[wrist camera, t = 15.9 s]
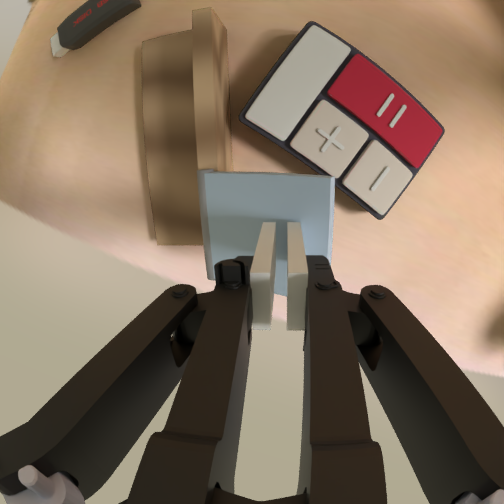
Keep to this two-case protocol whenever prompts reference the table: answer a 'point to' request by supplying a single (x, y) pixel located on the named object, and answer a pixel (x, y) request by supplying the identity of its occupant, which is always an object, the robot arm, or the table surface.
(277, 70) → the calculator
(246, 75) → the table surface
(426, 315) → the table surface
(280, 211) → the light blue flat tile
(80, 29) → the usb drive
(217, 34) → the wooden l-shaped bracket
